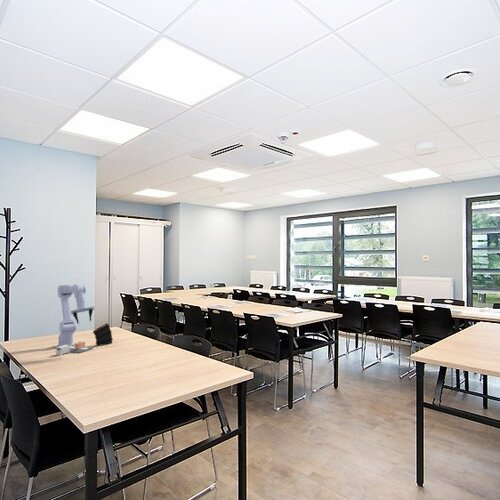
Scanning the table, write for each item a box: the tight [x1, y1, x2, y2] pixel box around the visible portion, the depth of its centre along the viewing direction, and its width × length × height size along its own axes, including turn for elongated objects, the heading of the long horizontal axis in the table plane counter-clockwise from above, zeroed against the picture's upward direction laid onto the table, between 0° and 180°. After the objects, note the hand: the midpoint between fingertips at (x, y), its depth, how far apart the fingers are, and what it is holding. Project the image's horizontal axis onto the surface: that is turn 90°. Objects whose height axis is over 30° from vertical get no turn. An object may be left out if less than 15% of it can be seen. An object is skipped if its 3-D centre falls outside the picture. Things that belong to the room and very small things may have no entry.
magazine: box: [92, 323, 114, 346], centre depth 263 cm, size 4×13×15 cm, turn 133°
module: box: [55, 345, 71, 356], centre depth 235 cm, size 4×7×5 cm, turn 161°
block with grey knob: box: [74, 341, 86, 349], centre depth 244 cm, size 3×6×4 cm, turn 161°
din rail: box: [61, 344, 94, 354], centre depth 245 cm, size 20×12×3 cm, turn 71°
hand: (84, 321), depth 240 cm, fingers open, 7 cm apart
